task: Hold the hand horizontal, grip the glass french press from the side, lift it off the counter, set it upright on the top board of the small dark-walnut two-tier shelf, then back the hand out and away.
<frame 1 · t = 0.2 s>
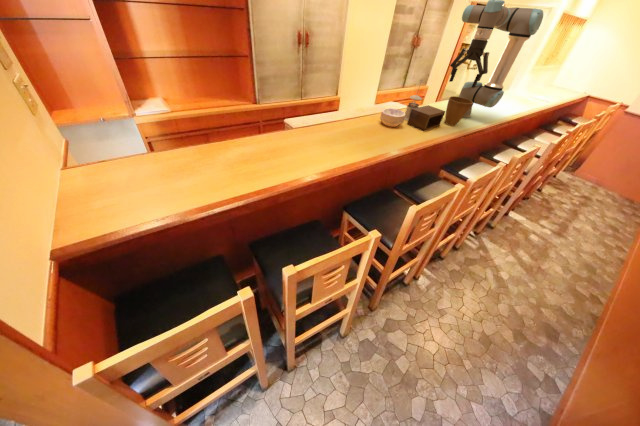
hand: (461, 84, 139), 28 cm above the bar counter, tool pointing down, fingers open, 13 cm apart
french press: (408, 119, 171), on the bar counter
plant pot: (450, 123, 171), on the bar counter
shelf: (423, 125, 164), on the bar counter
paper bowls: (390, 124, 160), on the bar counter
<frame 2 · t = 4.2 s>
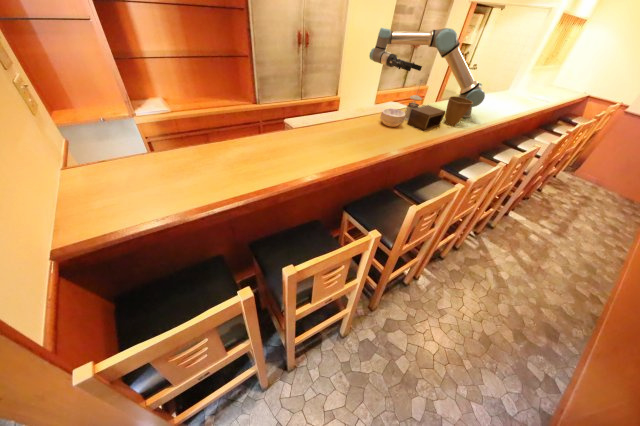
hand: (416, 68, 156), 30 cm above the bar counter, tool horizontal, fingers open, 13 cm apart
nothing on the bar counter moved.
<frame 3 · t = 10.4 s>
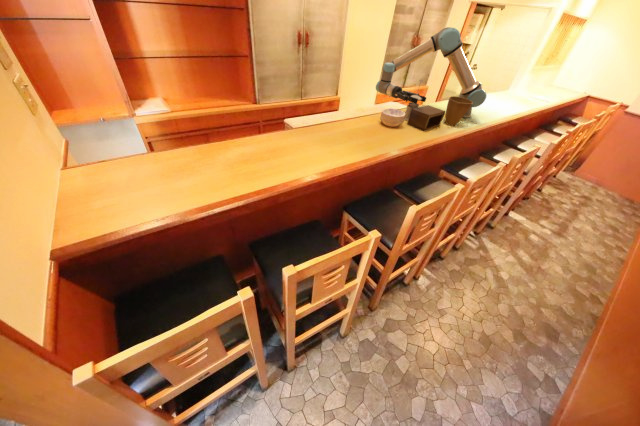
hand: (421, 100, 160), 14 cm above the bar counter, tool horizontal, fingers closed on french press, 9 cm apart
french press: (408, 119, 171), on the bar counter, touching gripper
everything else where it was.
when the fingers open (23 cm above the bar counter, at t = 17.9 s): french press stays where it is, resting on shelf.
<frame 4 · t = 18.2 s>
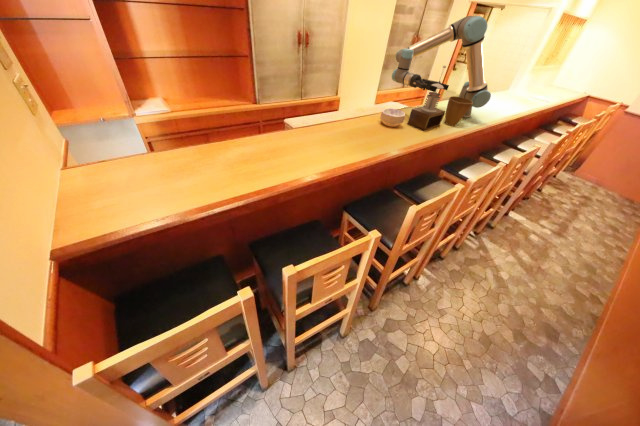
hand: (442, 88, 147), 24 cm above the bar counter, tool horizontal, fingers open, 13 cm apart
french press: (428, 110, 157), point 10 cm above the bar counter, touching shelf
everything else where it was.
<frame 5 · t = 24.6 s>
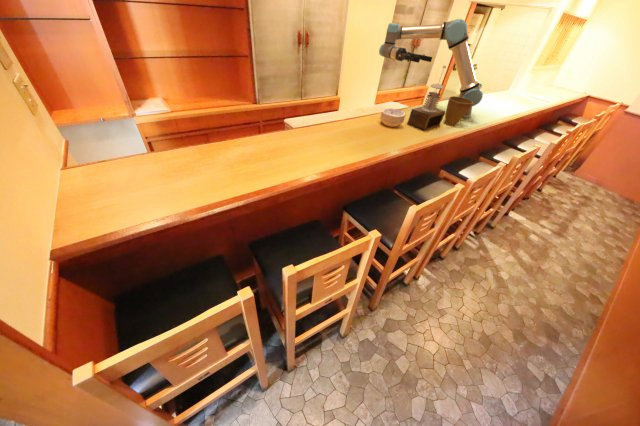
hand: (425, 59, 154), 35 cm above the bar counter, tool horizontal, fingers open, 13 cm apart
nothing on the bar counter moved.
at the end: french press inside the target area on the shelf (0.1 cm from its centre), point 9.8 cm above the shelf's base; french press tilted 0°; the gripper is holding nothing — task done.
